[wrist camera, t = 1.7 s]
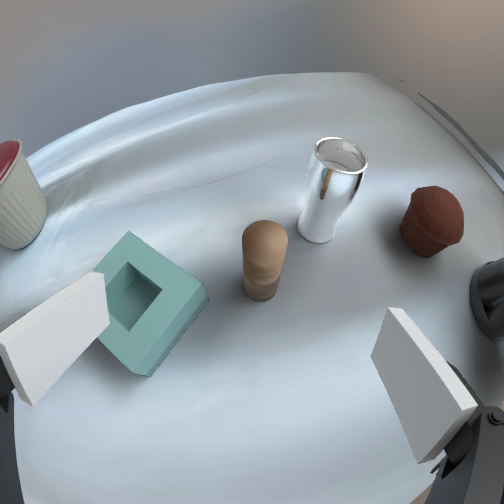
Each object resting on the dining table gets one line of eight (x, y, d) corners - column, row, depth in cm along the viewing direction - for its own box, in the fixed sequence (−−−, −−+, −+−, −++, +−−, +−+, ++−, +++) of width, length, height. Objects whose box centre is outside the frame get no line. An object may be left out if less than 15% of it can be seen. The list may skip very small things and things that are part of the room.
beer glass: (302, 250, 39) (325, 177, 26) (289, 212, 43) (303, 136, 29) (344, 242, 40) (380, 173, 27) (328, 206, 43) (353, 135, 30)
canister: (-6, 263, 37) (-66, 208, 18) (20, 197, 46) (-22, 136, 27) (42, 264, 37) (-30, 191, 19) (71, 187, 46) (27, 109, 28)
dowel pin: (282, 281, 37) (296, 233, 26) (265, 307, 35) (272, 267, 25) (255, 265, 38) (258, 213, 27) (237, 290, 36) (232, 244, 26)
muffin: (412, 200, 45) (435, 165, 36) (451, 240, 41) (480, 209, 32) (382, 230, 41) (408, 192, 33) (427, 277, 37) (462, 247, 28)
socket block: (209, 300, 35) (202, 283, 30) (151, 376, 30) (132, 372, 25) (142, 252, 39) (128, 230, 34) (89, 317, 33) (67, 303, 28)
